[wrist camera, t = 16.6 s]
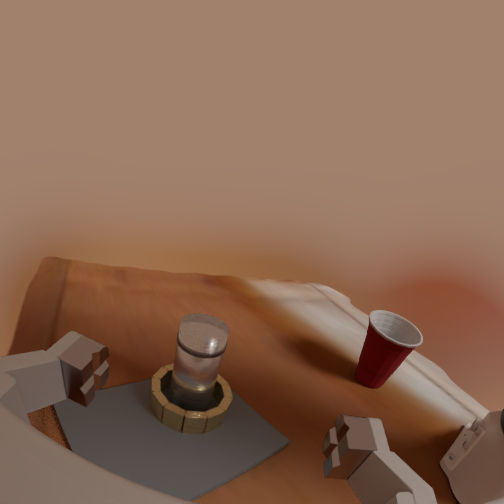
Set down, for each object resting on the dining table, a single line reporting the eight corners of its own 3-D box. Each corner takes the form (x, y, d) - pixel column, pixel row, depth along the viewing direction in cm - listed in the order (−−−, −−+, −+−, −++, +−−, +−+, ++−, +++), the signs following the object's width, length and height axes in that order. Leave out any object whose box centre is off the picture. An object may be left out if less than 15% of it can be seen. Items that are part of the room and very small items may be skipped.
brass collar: (197, 372, 40) (200, 356, 39) (241, 416, 34) (247, 401, 33) (136, 388, 33) (137, 371, 32) (178, 444, 27) (181, 429, 26)
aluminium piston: (193, 385, 37) (210, 310, 34) (217, 411, 34) (240, 335, 30) (159, 396, 33) (170, 316, 30) (182, 425, 30) (198, 346, 27)
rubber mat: (204, 368, 43) (205, 363, 42) (287, 445, 32) (290, 440, 32) (52, 404, 26) (51, 398, 26) (117, 530, 15) (116, 527, 15)
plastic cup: (351, 396, 44) (384, 337, 41) (336, 359, 54) (361, 305, 51) (401, 399, 45) (435, 344, 41) (382, 365, 55) (408, 315, 52)
